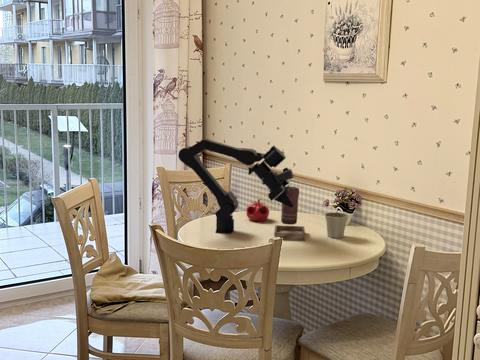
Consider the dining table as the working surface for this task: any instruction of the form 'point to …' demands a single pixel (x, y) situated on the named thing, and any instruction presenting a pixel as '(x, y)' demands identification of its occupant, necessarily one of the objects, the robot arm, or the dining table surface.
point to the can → (287, 212)
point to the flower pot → (335, 224)
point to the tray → (290, 232)
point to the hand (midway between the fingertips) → (293, 205)
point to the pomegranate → (257, 211)
